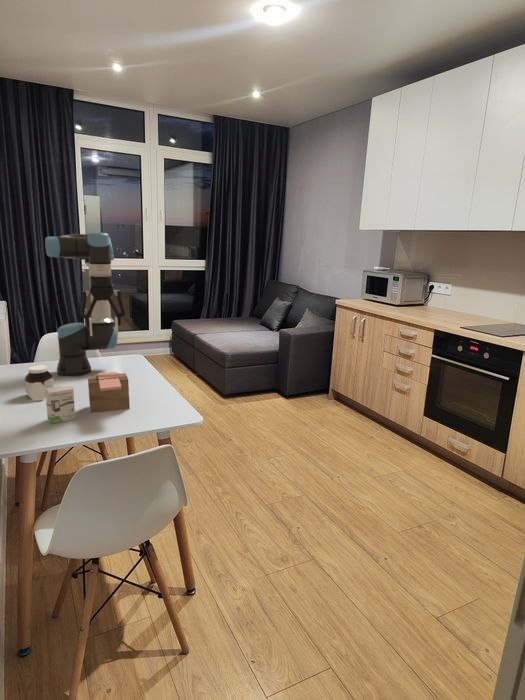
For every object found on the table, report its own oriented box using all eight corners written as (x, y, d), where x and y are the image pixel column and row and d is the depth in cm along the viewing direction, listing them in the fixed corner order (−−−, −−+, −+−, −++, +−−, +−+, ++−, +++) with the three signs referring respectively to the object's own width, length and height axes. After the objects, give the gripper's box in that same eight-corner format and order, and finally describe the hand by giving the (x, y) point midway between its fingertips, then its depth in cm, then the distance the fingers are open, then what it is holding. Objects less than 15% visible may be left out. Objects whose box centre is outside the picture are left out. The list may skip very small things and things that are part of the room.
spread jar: (47, 389, 186) (44, 363, 183) (62, 395, 180) (59, 368, 177) (18, 397, 176) (15, 369, 173) (33, 403, 170) (30, 375, 167)
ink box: (50, 424, 153) (47, 392, 150) (47, 419, 156) (44, 388, 153) (76, 419, 157) (73, 388, 154) (73, 414, 161) (70, 384, 158)
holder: (89, 405, 170) (87, 373, 167) (127, 401, 175) (125, 370, 172) (90, 413, 163) (88, 380, 159) (129, 408, 168) (128, 376, 165)
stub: (98, 382, 161) (98, 379, 161) (118, 380, 164) (118, 377, 163) (100, 391, 152) (100, 388, 152) (121, 389, 155) (121, 386, 154)
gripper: (69, 276, 155) (74, 338, 161) (131, 276, 164) (134, 335, 169) (69, 274, 162) (73, 334, 167) (129, 274, 170) (131, 331, 176)
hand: (104, 334), depth 168 cm, fingers open, 9 cm apart
